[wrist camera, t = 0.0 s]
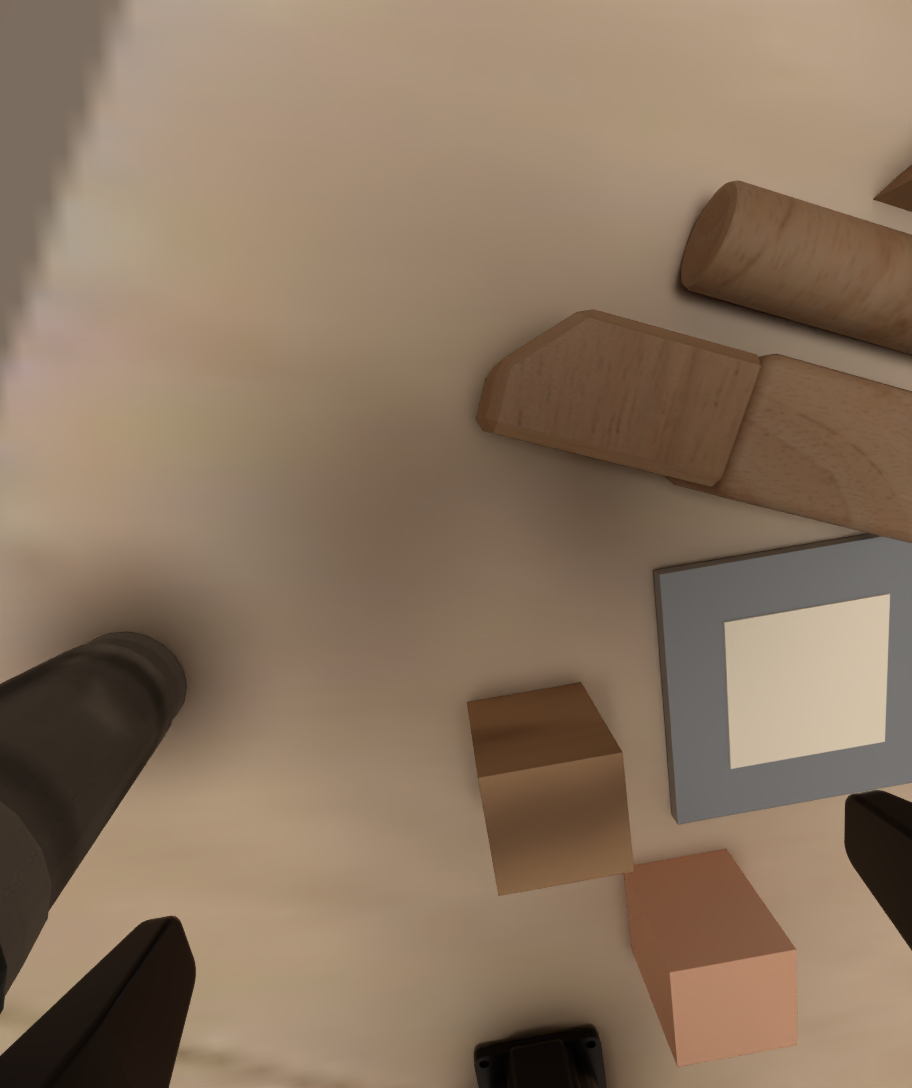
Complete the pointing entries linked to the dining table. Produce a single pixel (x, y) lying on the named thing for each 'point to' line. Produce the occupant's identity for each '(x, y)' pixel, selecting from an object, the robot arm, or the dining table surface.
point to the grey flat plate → (786, 675)
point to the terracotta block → (711, 958)
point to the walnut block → (550, 789)
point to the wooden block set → (742, 370)
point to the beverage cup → (71, 768)
